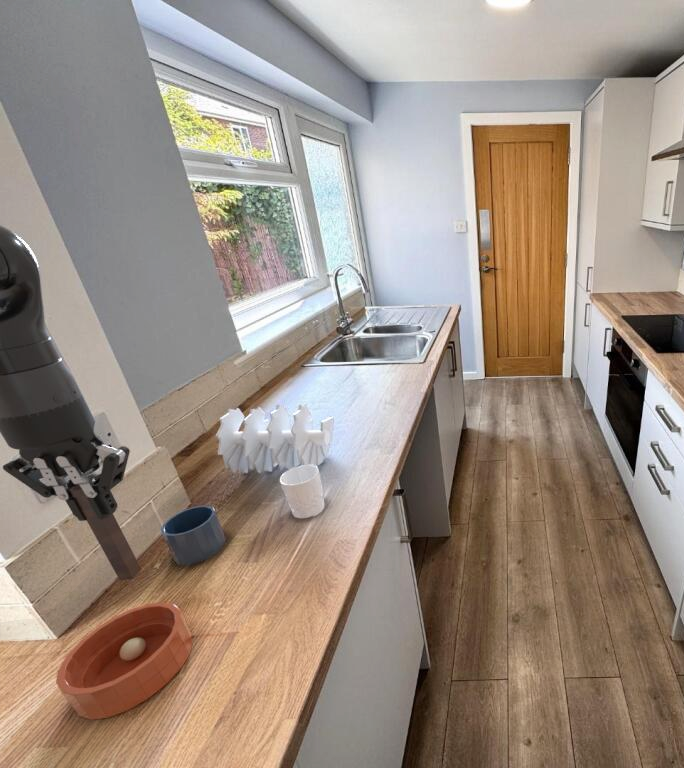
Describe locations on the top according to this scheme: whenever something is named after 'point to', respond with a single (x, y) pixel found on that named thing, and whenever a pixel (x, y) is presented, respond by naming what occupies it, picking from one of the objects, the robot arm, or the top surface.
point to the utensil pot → (193, 535)
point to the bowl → (120, 677)
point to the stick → (109, 538)
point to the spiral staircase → (272, 440)
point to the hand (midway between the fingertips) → (98, 515)
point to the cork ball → (132, 649)
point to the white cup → (303, 490)
